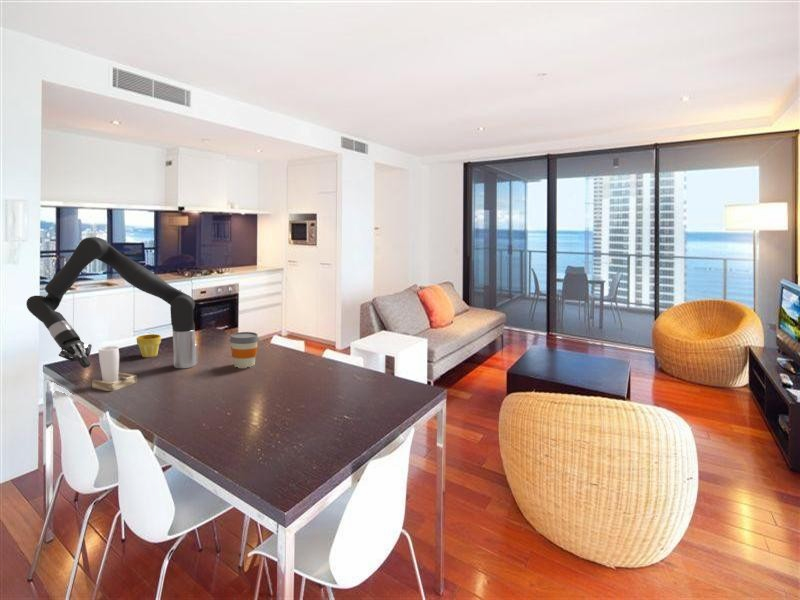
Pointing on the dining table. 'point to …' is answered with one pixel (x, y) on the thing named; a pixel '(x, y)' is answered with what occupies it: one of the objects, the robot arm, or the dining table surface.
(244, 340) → the reusable coffee cup
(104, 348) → the drinking glass
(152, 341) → the plant pot
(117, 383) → the oak dock
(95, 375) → the dining table surface
